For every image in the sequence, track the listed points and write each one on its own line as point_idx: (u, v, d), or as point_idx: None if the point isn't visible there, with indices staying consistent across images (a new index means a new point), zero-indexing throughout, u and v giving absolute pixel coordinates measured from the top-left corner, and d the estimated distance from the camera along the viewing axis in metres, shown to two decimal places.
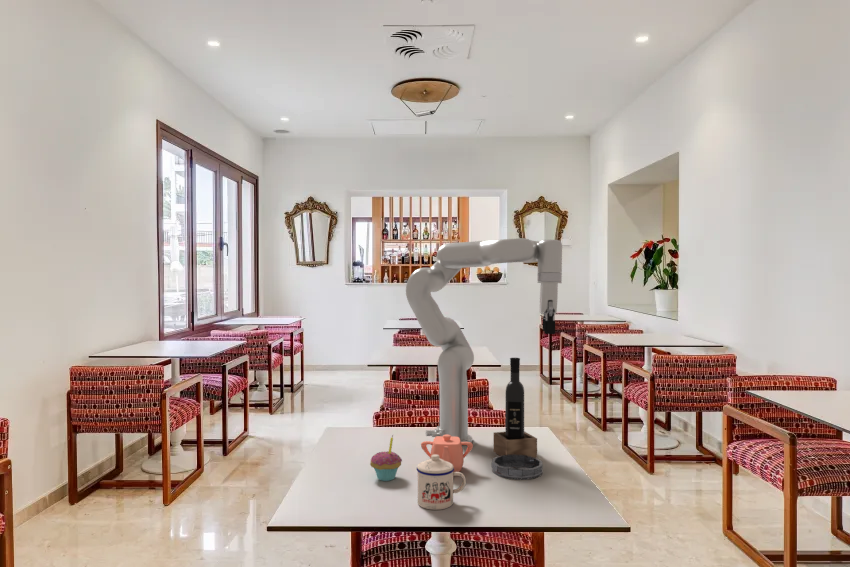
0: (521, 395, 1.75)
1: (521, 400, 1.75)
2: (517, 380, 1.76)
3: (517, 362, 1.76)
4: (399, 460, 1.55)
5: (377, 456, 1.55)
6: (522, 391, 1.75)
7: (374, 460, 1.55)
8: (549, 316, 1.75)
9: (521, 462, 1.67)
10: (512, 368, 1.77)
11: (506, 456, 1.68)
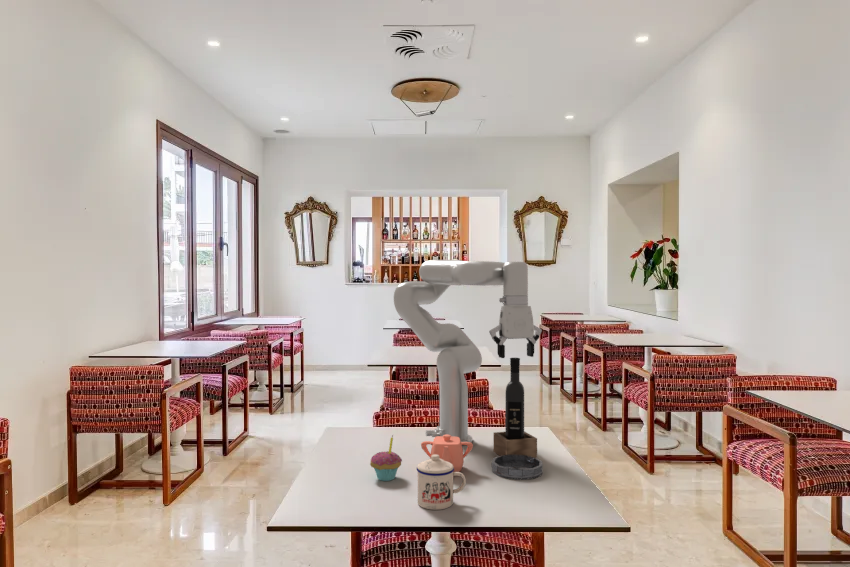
0: (521, 395, 1.75)
1: (521, 400, 1.75)
2: (517, 380, 1.76)
3: (517, 362, 1.76)
4: (399, 460, 1.55)
5: (377, 456, 1.55)
6: (522, 391, 1.75)
7: (374, 460, 1.55)
8: None
9: (521, 462, 1.67)
10: (512, 368, 1.77)
11: (506, 456, 1.68)
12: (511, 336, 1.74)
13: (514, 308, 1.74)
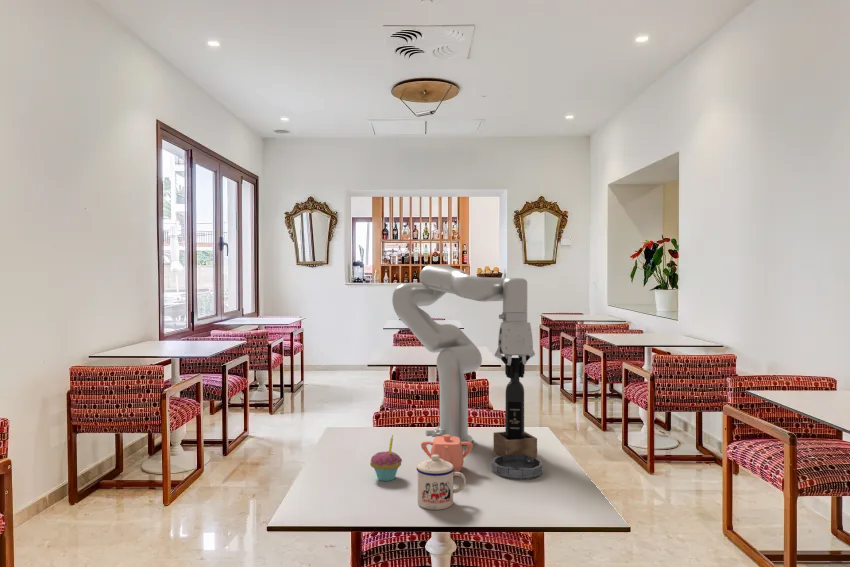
0: (521, 394, 1.75)
1: (521, 400, 1.75)
2: (517, 380, 1.76)
3: (517, 362, 1.76)
4: (399, 460, 1.55)
5: (377, 456, 1.55)
6: (522, 391, 1.75)
7: (374, 460, 1.55)
8: None
9: (521, 462, 1.67)
10: None
11: (506, 456, 1.68)
12: (510, 352, 1.74)
13: (513, 325, 1.75)
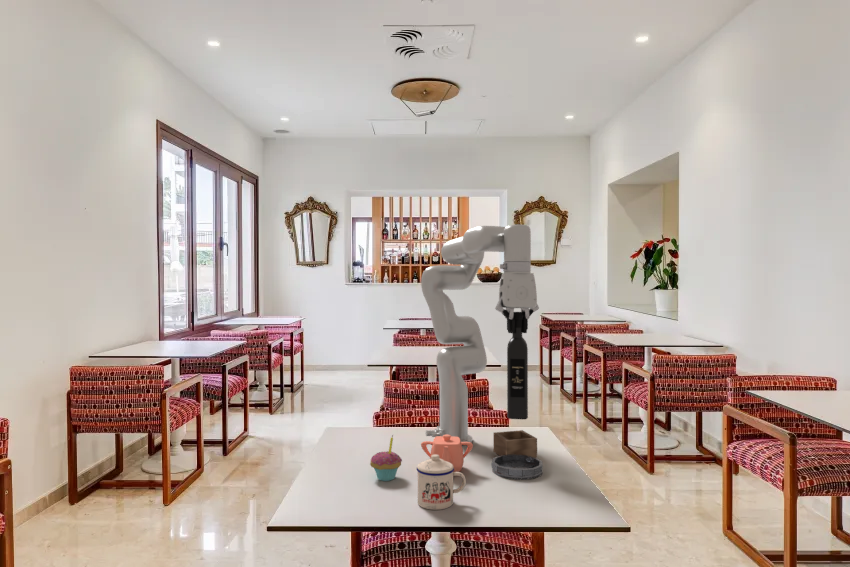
0: (524, 351, 1.60)
1: (524, 357, 1.60)
2: (520, 335, 1.62)
3: (520, 315, 1.62)
4: (399, 460, 1.55)
5: (377, 456, 1.55)
6: (525, 347, 1.61)
7: (374, 460, 1.55)
8: None
9: (521, 462, 1.67)
10: None
11: (506, 456, 1.68)
12: (512, 305, 1.60)
13: (516, 275, 1.60)
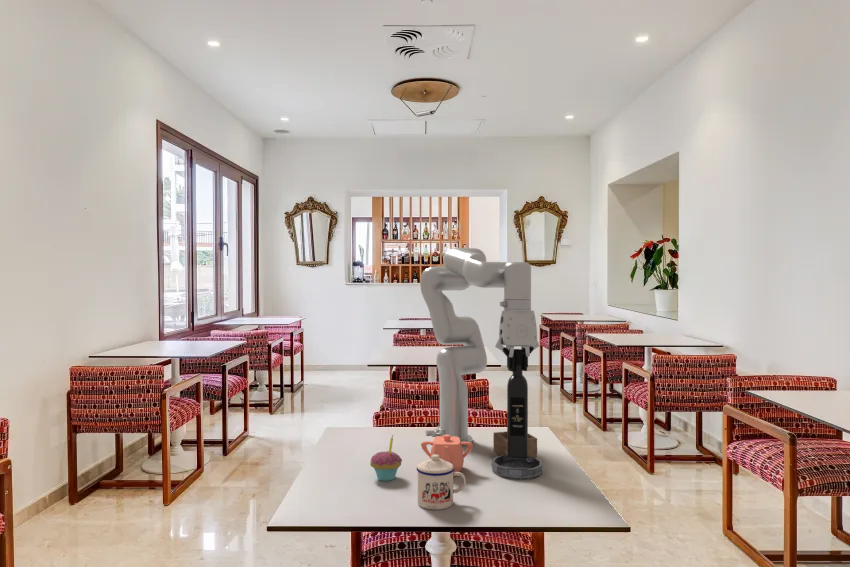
0: (524, 389, 1.59)
1: (524, 395, 1.59)
2: (520, 373, 1.61)
3: (520, 353, 1.61)
4: (399, 460, 1.55)
5: (377, 456, 1.55)
6: (525, 385, 1.60)
7: (374, 460, 1.55)
8: None
9: (521, 462, 1.67)
10: None
11: (506, 456, 1.68)
12: (512, 343, 1.59)
13: (516, 313, 1.59)
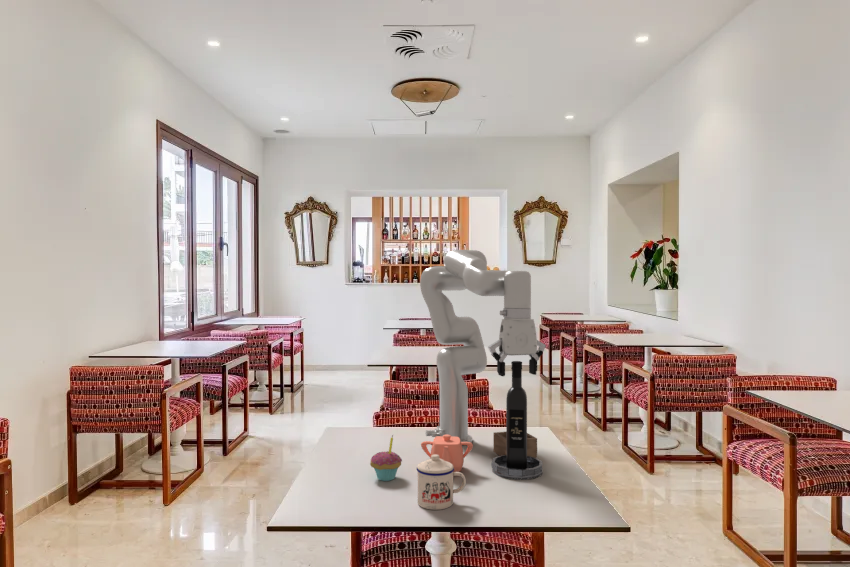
0: (523, 402, 1.60)
1: (523, 408, 1.60)
2: (519, 386, 1.61)
3: (519, 366, 1.61)
4: (399, 460, 1.55)
5: (377, 456, 1.55)
6: (525, 398, 1.60)
7: (374, 460, 1.55)
8: None
9: None
10: (514, 373, 1.62)
11: None
12: (512, 352, 1.59)
13: (516, 322, 1.59)
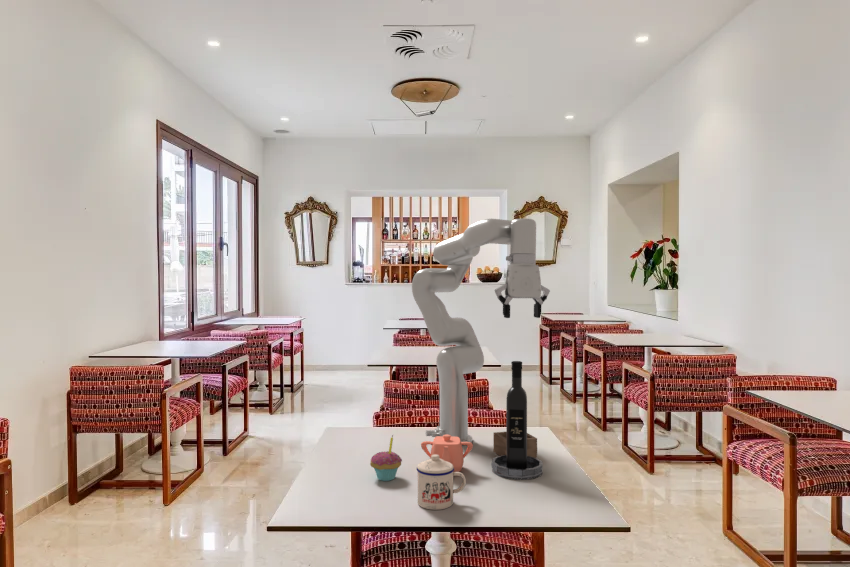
0: (524, 402, 1.60)
1: (523, 408, 1.60)
2: (519, 386, 1.61)
3: (519, 366, 1.61)
4: (399, 460, 1.55)
5: (377, 456, 1.55)
6: (525, 398, 1.60)
7: (374, 460, 1.55)
8: None
9: None
10: (514, 373, 1.62)
11: None
12: (517, 295, 1.68)
13: (521, 266, 1.68)
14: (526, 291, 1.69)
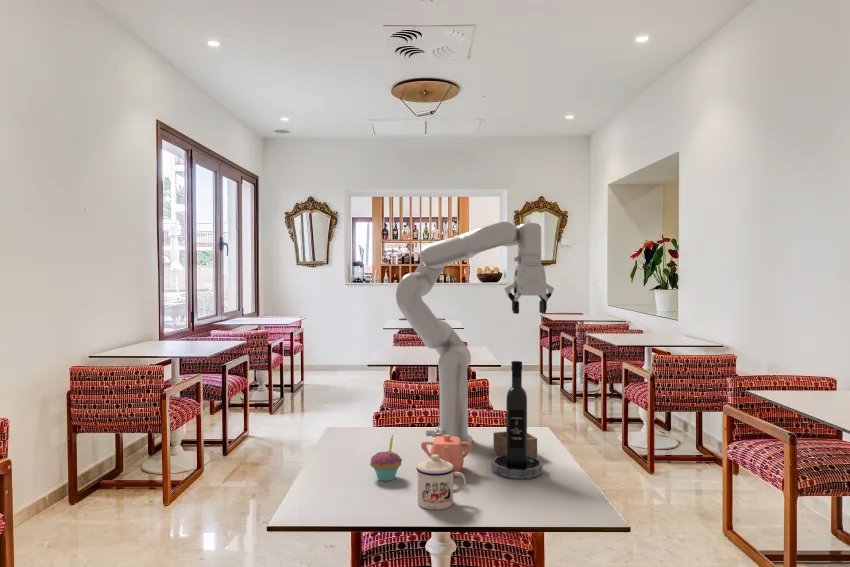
0: (524, 402, 1.60)
1: (523, 408, 1.60)
2: (519, 386, 1.61)
3: (519, 366, 1.61)
4: (399, 460, 1.55)
5: (377, 456, 1.55)
6: (525, 398, 1.60)
7: (374, 460, 1.55)
8: None
9: None
10: (514, 373, 1.62)
11: None
12: (525, 292, 1.84)
13: (528, 266, 1.85)
14: (533, 289, 1.85)
